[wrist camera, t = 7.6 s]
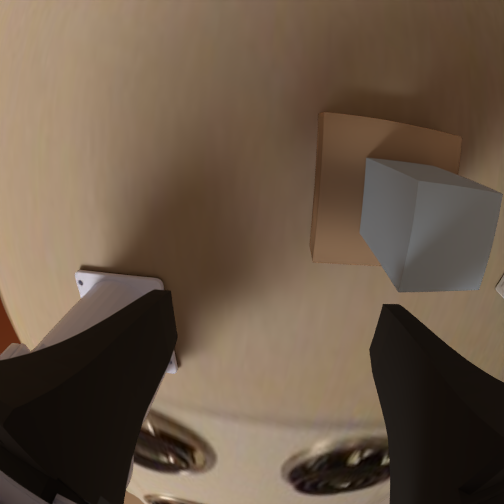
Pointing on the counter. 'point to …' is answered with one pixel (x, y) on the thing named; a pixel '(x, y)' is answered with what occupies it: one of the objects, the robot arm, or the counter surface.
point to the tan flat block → (363, 176)
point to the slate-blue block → (428, 225)
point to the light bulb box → (500, 287)
